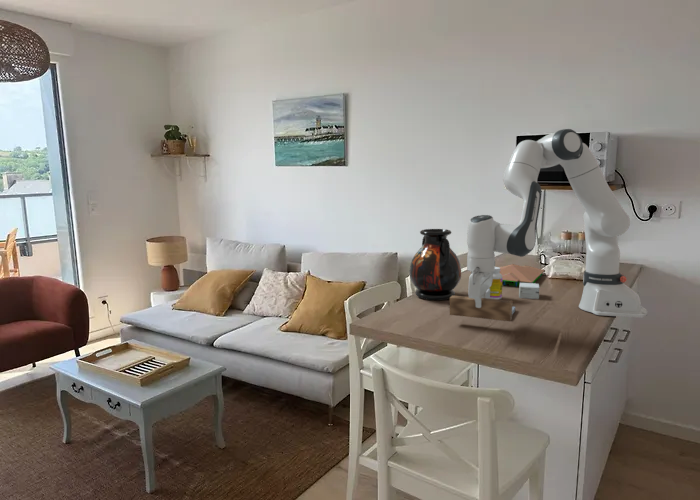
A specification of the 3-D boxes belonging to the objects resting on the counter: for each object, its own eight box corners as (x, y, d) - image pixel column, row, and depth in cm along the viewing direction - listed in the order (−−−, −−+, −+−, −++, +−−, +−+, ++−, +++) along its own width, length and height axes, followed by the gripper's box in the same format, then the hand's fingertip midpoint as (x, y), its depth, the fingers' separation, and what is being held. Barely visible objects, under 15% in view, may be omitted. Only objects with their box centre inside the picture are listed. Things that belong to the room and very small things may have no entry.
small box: (518, 298, 201) (519, 286, 201) (519, 293, 209) (519, 282, 208) (539, 299, 199) (539, 287, 198) (538, 295, 206) (539, 283, 205)
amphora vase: (400, 293, 213) (400, 229, 208) (442, 288, 221) (443, 226, 216) (425, 305, 193) (426, 234, 189) (471, 299, 201) (473, 231, 197)
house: (478, 285, 226) (478, 268, 225) (497, 272, 254) (498, 257, 253) (530, 290, 214) (530, 272, 213) (544, 276, 242) (545, 260, 241)
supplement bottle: (502, 300, 198) (503, 269, 196) (485, 300, 199) (486, 269, 197) (501, 296, 204) (501, 266, 202) (484, 296, 205) (485, 266, 203)
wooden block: (512, 318, 161) (512, 300, 160) (510, 321, 158) (510, 303, 157) (452, 312, 170) (452, 295, 169) (449, 314, 167) (449, 297, 166)
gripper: (483, 271, 151) (483, 314, 153) (496, 260, 169) (495, 298, 171) (463, 270, 154) (463, 312, 156) (478, 259, 172) (477, 297, 174)
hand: (480, 305), depth 164 cm, fingers closed on wooden block, 3 cm apart
